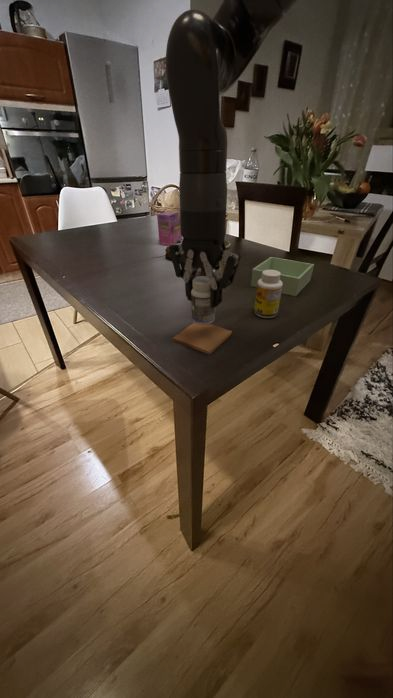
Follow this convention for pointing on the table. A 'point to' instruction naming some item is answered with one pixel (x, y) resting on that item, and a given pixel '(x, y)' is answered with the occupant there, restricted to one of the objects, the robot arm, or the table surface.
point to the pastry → (168, 255)
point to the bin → (285, 274)
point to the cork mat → (202, 337)
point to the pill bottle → (202, 301)
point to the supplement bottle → (268, 294)
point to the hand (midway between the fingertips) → (203, 302)
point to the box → (169, 227)
